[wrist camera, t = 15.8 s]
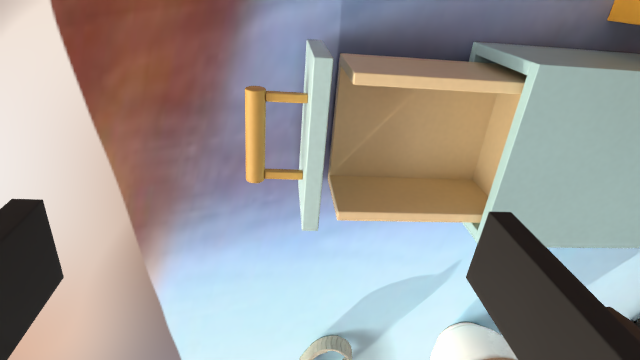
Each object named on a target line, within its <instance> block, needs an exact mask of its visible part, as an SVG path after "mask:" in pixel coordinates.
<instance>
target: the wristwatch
mask: <svg viewBox="0 0 640 360" xmlns="http://www.w3.org/2000/svg"><path fill="white" fill-rule="evenodd" d="M331 350H332V351H337V352H338V353H341V354H342V355H343V356H345V358H343V360H352V349H351V346H350V344H349V342H348V341H347V340H346V339H344V338H342V337H339V336H325V337H324V338H323V337H322V338H320V339H318V340H316V341H315V342H313V343H312V344H311V345H310V346H309V347H308V349H307V350H306V351H305V352H304V353H303V355H302V356H301V357H300V360H313V359H314V358H315V357H317V356H318V355H320V354H323V353H327V351H331Z"/></svg>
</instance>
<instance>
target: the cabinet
mask: <svg viewBox="0 0 640 360" xmlns="http://www.w3.org/2000/svg"><path fill="white" fill-rule="evenodd" d="M469 62H480V63H495V64H500V65H503V66H505V67H508V68H510V69H513V70H515V71H517V72H520V73H522V74H525V75H527V78H526V81H525V84H524V87H523V90H522V93H521V97H520V100H519V103H518V106H517V109H516V112H515V115H514V118H513V122H512V125H511V128H510V131H509V134H508V137H507V140H506V143H505V147H504V150H503V153H502V156H501V159H500V162H499V165H498V169H497V172H496V175H495V178H494V181H493V184H492V187H491V190H490V194H489V197H488V200H487V203H486V206H485V209H484V212H483V215H482V219H481V222H480V223H470V222H462V223H463V224H464V226H465V227H466V228H467V230H468V231H469V233H470V234H471V235H472V237H473V238H474V239H475V241H476V242H477V244H478V242H479V239H480V236H481V233H482V230H483V227H484V225H485V222H486V219H487V216H488V213H489V211H491V212H512V213H513V214H514V215H515V216H516V217H517V218H518V219H519V220H520V221H521V222H522V223H523V224H524V226H525V227H526V228H527V229H528V230H529V231H530V232H531V233H532V234H533V235H534V236H535V237H536V238H537V239H538V240H539V241H540V242H541V243H542V244H543V245H544V246H545V247H561V248H640V54H637V53H623V52H610V51H596V50H582V49H568V48H555V47H541V46H527V45H514V44H500V43H486V42H474V43H473V46H472V50H471V54H470V58H469Z"/></svg>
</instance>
